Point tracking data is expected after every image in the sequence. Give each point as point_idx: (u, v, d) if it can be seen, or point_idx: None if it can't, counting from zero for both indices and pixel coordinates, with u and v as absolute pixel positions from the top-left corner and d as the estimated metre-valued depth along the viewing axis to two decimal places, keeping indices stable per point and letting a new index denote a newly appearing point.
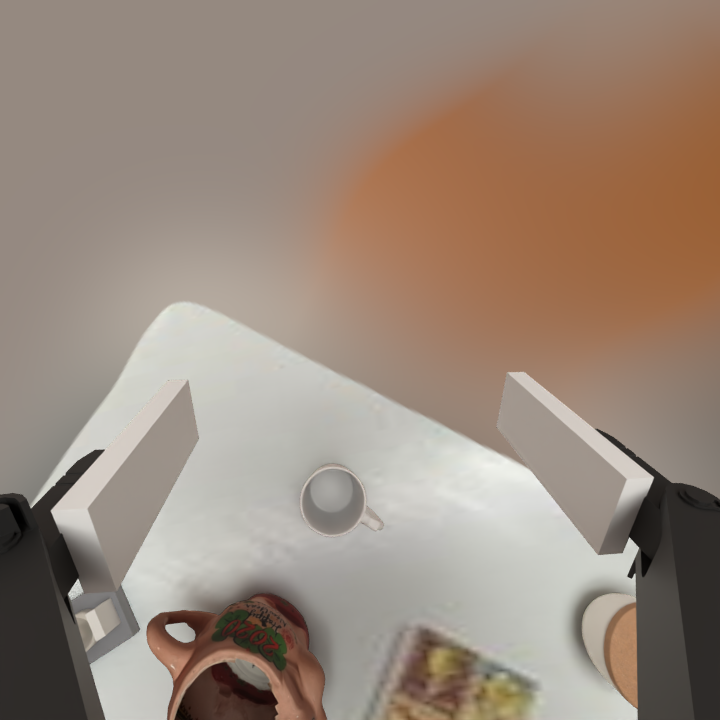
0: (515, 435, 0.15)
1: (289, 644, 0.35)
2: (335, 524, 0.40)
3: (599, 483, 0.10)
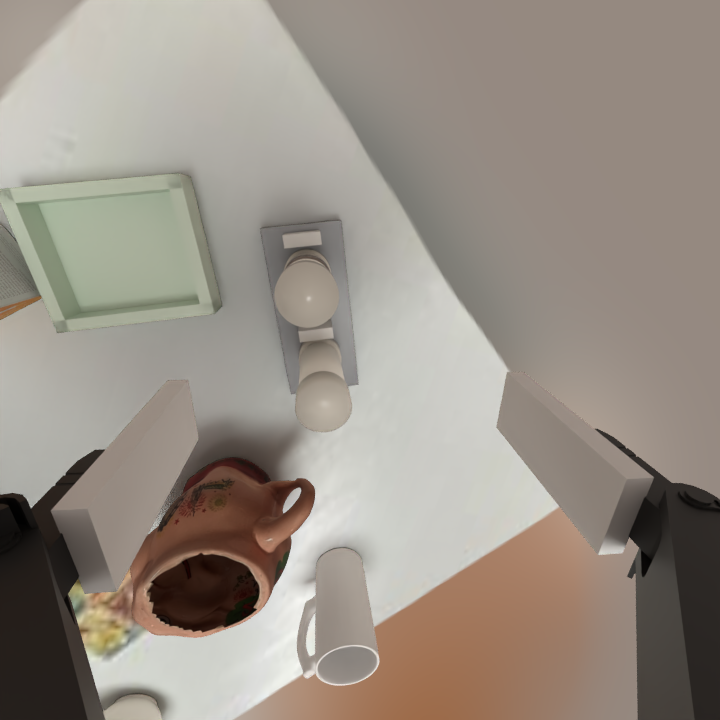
0: (515, 435, 0.15)
1: None
2: None
3: (599, 483, 0.10)
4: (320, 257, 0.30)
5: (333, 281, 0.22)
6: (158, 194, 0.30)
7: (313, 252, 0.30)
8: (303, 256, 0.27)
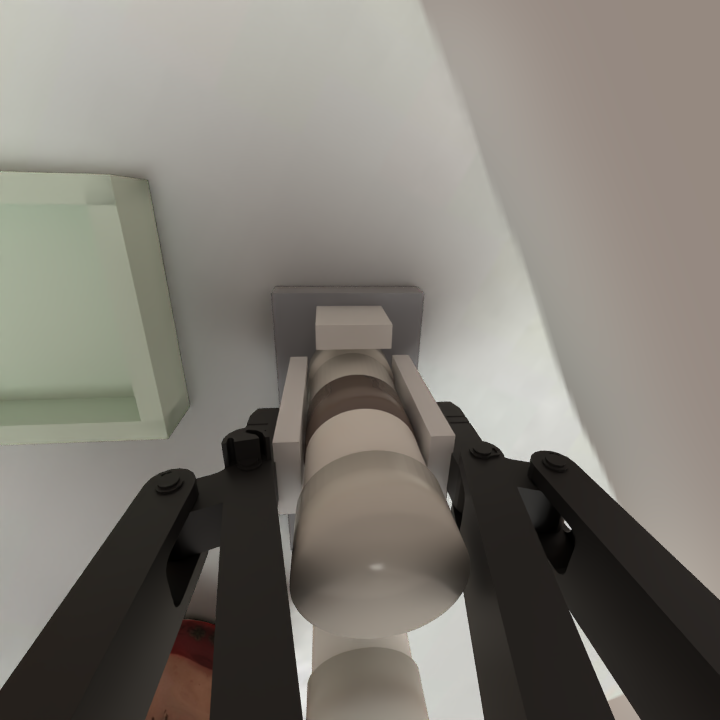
0: None
1: None
2: None
3: (422, 443, 0.12)
4: (382, 367, 0.15)
5: (463, 550, 0.08)
6: (78, 207, 0.15)
7: (369, 354, 0.16)
8: (359, 391, 0.12)
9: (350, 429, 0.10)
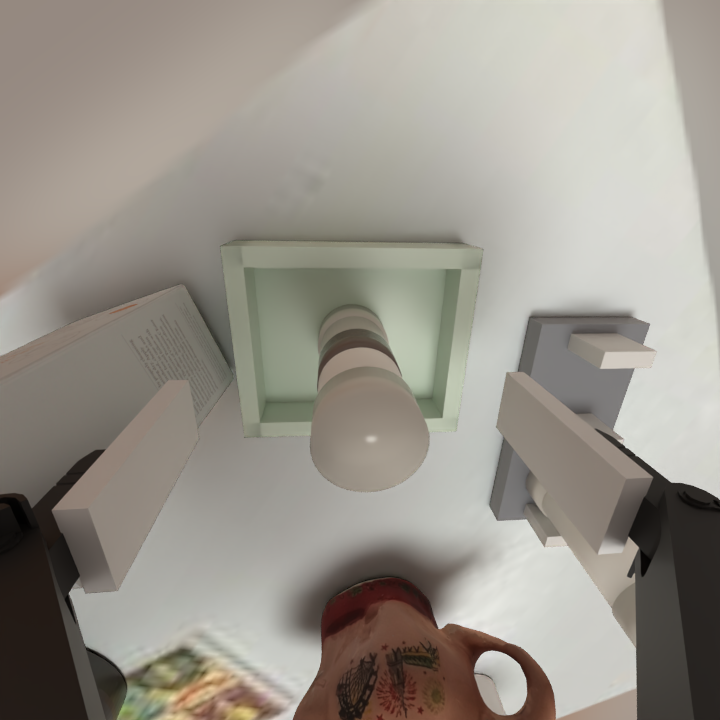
0: (515, 435, 0.15)
1: None
2: None
3: (598, 483, 0.10)
4: (377, 327, 0.19)
5: (423, 424, 0.12)
6: None
7: (367, 317, 0.20)
8: (358, 338, 0.16)
9: (351, 358, 0.14)
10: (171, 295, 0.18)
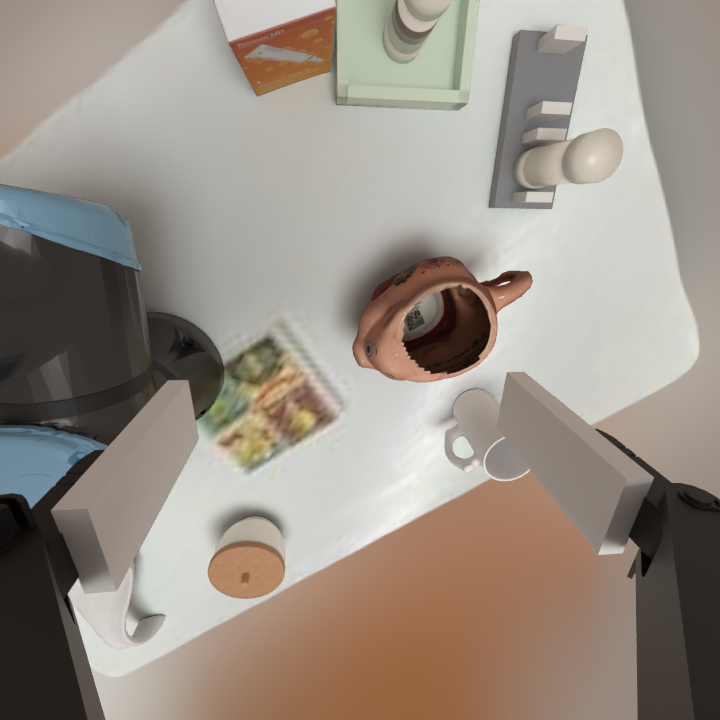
0: (515, 435, 0.15)
1: (437, 373, 0.40)
2: None
3: (599, 483, 0.10)
4: None
5: None
6: None
7: None
8: None
9: None
10: None
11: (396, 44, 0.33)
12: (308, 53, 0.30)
